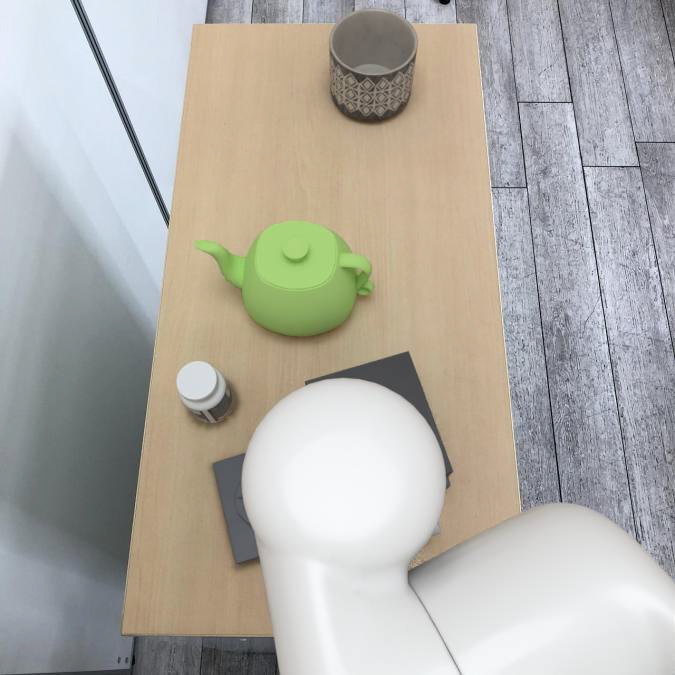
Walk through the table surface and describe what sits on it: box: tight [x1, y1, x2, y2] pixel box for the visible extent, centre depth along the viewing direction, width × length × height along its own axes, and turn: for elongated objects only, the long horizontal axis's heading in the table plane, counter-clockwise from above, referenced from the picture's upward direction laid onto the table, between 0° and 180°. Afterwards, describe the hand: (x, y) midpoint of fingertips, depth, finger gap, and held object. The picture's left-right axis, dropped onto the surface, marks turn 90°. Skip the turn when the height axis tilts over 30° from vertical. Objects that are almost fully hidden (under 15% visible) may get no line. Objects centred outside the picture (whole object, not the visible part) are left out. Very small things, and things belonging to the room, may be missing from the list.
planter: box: [328, 7, 419, 122], centre depth 94 cm, size 13×13×10 cm
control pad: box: [212, 452, 260, 565], centre depth 74 cm, size 12×10×4 cm
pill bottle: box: [175, 360, 236, 424], centre depth 76 cm, size 6×6×10 cm
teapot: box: [193, 220, 375, 337], centre depth 80 cm, size 22×15×13 cm
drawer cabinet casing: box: [304, 350, 454, 478], centre depth 74 cm, size 15×13×10 cm
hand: (345, 542), depth 50 cm, fingers closed
